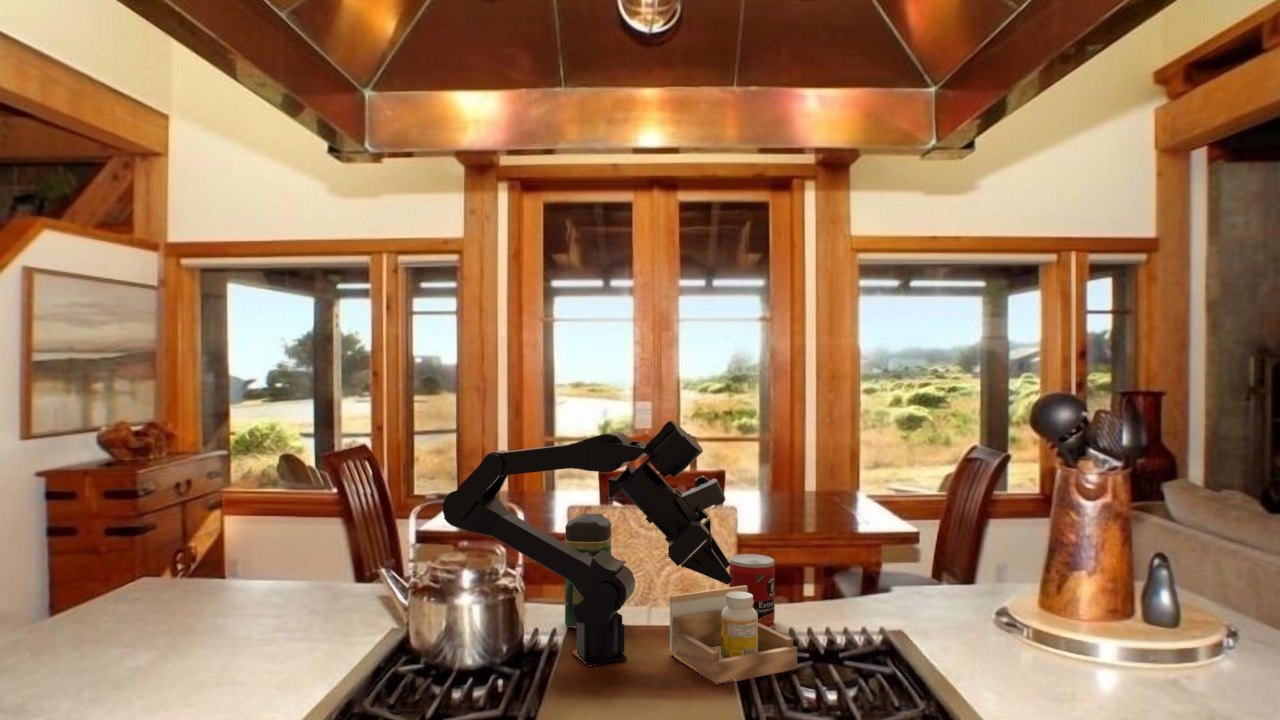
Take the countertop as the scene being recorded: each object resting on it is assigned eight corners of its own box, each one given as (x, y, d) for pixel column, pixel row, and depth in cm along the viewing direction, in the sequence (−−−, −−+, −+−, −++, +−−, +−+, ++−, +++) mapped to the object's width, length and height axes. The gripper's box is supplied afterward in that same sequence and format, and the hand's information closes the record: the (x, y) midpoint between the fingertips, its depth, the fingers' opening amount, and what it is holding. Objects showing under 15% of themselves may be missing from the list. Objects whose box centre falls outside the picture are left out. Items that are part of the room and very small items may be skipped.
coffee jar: (569, 614, 136) (570, 510, 137) (613, 615, 136) (614, 511, 136) (560, 631, 127) (561, 519, 127) (607, 633, 126) (608, 520, 127)
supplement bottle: (753, 669, 108) (752, 601, 109) (716, 664, 110) (716, 597, 111) (761, 656, 113) (761, 592, 114) (726, 652, 115) (726, 588, 116)
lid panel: (671, 656, 115) (671, 596, 115) (669, 655, 116) (669, 595, 116) (747, 642, 122) (747, 586, 122) (745, 641, 122) (745, 585, 122)
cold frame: (716, 685, 104) (716, 641, 104) (673, 657, 115) (673, 617, 115) (797, 668, 110) (797, 626, 111) (749, 643, 121) (749, 605, 121)
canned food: (761, 632, 127) (761, 566, 127) (720, 623, 132) (720, 559, 132) (782, 621, 133) (782, 558, 133) (742, 612, 138) (742, 551, 138)
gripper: (692, 467, 104) (773, 549, 103) (694, 455, 123) (762, 525, 122) (635, 523, 105) (715, 606, 103) (645, 503, 123) (713, 573, 122)
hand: (728, 574), depth 113 cm, fingers open, 9 cm apart
